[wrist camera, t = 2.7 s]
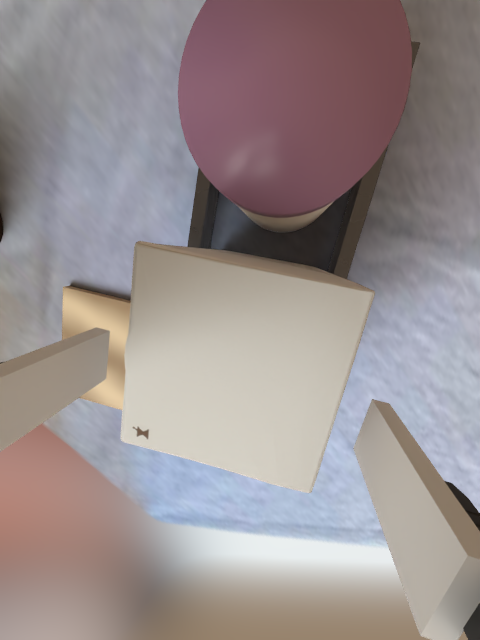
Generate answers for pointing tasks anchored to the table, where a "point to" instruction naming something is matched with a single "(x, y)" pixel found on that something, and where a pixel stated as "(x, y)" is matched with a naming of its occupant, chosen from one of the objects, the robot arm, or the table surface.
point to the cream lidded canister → (292, 100)
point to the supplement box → (238, 359)
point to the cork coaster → (104, 313)
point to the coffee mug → (1, 228)
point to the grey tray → (348, 230)
